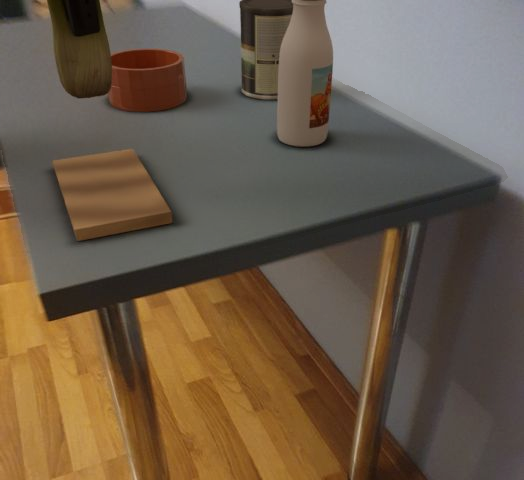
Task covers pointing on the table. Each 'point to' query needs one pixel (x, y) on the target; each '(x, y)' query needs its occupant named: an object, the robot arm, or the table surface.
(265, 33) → the coffee can
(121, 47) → the table surface
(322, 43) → the milk bottle
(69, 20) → the robot arm
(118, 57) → the pot
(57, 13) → the fennel bulb
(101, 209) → the board
